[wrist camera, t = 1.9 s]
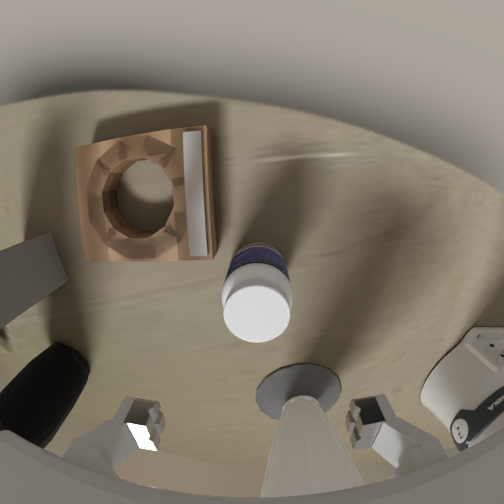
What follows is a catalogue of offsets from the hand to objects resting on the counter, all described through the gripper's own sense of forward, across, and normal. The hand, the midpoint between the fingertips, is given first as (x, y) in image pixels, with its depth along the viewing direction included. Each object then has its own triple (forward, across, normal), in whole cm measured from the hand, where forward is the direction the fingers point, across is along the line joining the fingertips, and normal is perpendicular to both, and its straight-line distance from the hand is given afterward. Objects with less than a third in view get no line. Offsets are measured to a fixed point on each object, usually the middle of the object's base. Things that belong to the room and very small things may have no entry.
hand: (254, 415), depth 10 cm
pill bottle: (+19, 0, 0) cm, 19 cm away
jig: (+19, +11, -8) cm, 23 cm away
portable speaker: (+20, +29, +15) cm, 38 cm away
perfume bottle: (+20, +28, -1) cm, 34 cm away
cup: (+19, -5, +18) cm, 27 cm away
